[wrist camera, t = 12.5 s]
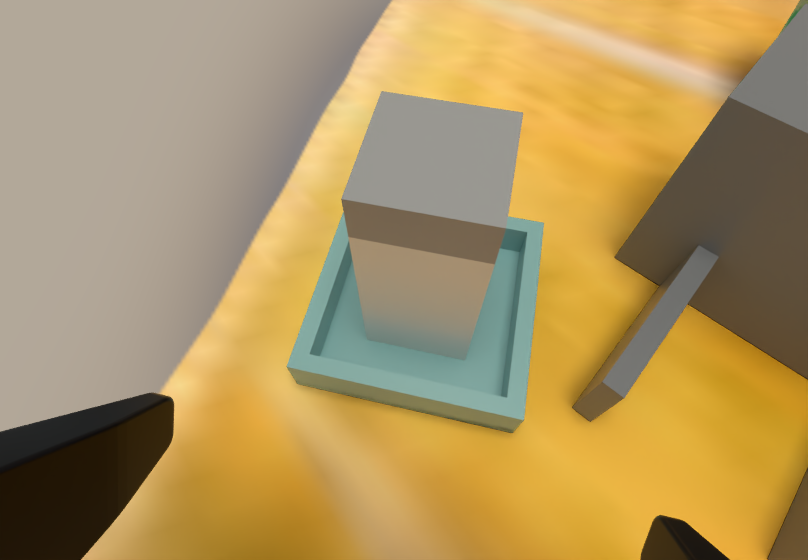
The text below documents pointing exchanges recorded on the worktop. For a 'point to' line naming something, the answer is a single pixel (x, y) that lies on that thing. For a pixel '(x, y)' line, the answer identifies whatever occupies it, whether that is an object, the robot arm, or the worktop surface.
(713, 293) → the coffee machine bay
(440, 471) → the worktop surface
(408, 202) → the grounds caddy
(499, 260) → the teal tray
